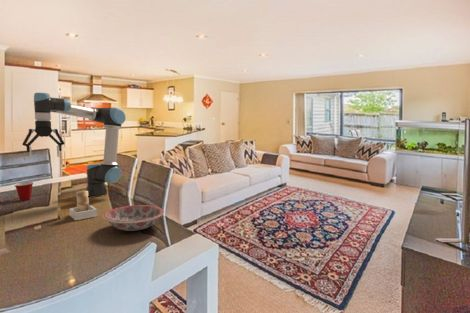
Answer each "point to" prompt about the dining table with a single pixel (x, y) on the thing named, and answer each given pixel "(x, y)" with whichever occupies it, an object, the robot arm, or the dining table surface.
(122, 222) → the ceramic bowl
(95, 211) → the square tray
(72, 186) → the dining table surface
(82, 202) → the oak rail post
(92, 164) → the robot arm
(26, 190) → the plastic cup
